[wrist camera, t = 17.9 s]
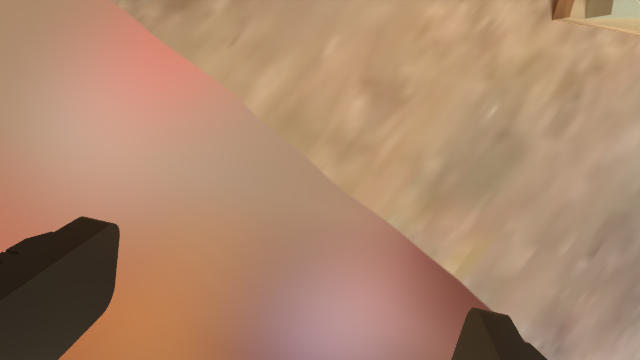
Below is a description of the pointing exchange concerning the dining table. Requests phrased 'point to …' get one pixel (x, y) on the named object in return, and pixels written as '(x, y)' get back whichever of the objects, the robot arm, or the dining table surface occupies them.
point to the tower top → (613, 9)
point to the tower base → (574, 12)
